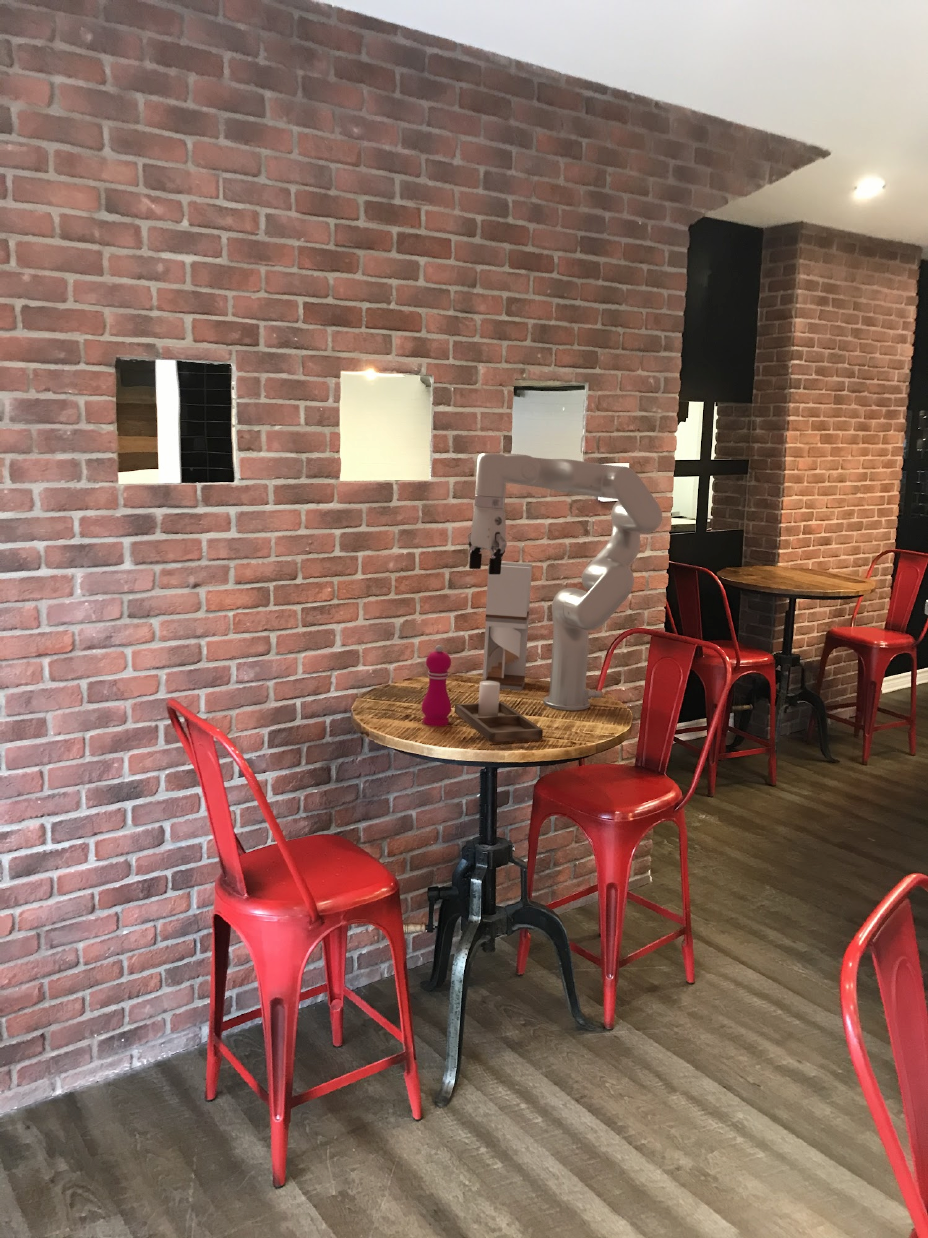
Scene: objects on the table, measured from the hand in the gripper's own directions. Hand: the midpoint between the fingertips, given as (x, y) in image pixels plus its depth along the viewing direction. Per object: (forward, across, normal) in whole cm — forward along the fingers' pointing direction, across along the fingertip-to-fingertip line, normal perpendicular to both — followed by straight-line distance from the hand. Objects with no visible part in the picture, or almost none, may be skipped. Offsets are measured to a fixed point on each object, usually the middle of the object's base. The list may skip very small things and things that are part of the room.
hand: (484, 571), depth 248 cm
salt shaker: (+36, -10, +2) cm, 37 cm away
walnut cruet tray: (+36, -15, +2) cm, 40 cm away
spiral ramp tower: (+36, +22, -22) cm, 48 cm away
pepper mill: (+37, -8, +16) cm, 41 cm away
